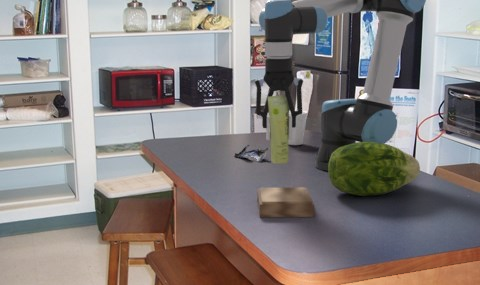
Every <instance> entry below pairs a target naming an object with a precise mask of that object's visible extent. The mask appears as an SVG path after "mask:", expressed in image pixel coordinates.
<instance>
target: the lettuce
mask: <svg viewBox="0 0 480 285" xmlns="http://www.w3.org/2000/svg"><path fill="white" fill-rule="evenodd" d="M420 167H421V166H420V162H419V161H418V160H417V158H415V157H414V156H413V155H411V154H410V153H409V154H408V153H407V152H404V151H402V150H401V149H399V148H398V147H395V146H393V145H390V144H386V143H385V144H383V143H375V142H358V141H356V143H353V144H349V145H346V146H343V147H340V148H338V149H337V150H335V151H334V152H333V153H332V155H331V157H330V160H329V164H328V171H327V172H328V173H327V174H328V178H329V179H330V182H331V184H332V186H333V187H335V188H336V189H337V190H338V191H340V192H343V193H346V194H351V195H354V196H361V197H364V196H365V197H366V196H367V197H368V196H369V197H370V196H379V195H385V194H388V193H391V192H393V191H396V190H398V189H400V188H402V187H403V186H405V185H407V184H410V183H412V182H413V181H414V180H415V179H416V178H417V177H419V175H420V172H421V168H420Z"/></svg>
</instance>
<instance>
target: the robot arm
mask: <svg viewBox="0 0 480 285" xmlns="http://www.w3.org/2000/svg"><path fill="white" fill-rule="evenodd" d="M426 1H427V0H296V1H293V2H292V0H267V1H266V2H265V5H264V6H265V7H264V8H263V9H262V10H261V11H260V13H259V16H258V22H259V25H260V28H261V29H262V30H264V55H265V57H266V58H265V59H264V62H265V63H264V66H265V67H264V69H265V72H264V76H263V77H262V78H258V79H257V78H255V79H254V84H255V87H256V94H255V98H256V100H255V114H256V116H260V117H261V120H262V122H261V124H262V128H263V129H266V136H265V137H266V141H271V138H270V120H269V108H268V97H270V96H274V93H275V92H279V91H280V92H284V94H285V95H286V98H287V102H288V105H289V110H290V112H291V115H289V140H292V128H295V127H296V116H297V115H299V114H302V110H303V96H302V92H303V91H302V87H303V85H304V84H303V83H304V80H303V79H302V78H301V77H299V78H298V77H295V76H294V74H293V58H292V56H293V36H294V35H304V34H305V35H306V34H307V35H310V34H312V35H314V34H318V33H322V32H323V31H325V29H326V28H327V25H328V19H329V18H332V17H335V16H339V15H342V14H345V13H350V14H356V13H362V12H375V15H376V16H377V18H378V19H379V20H378V25H377V29H376V30H377V31H376V34H375V39H374V43H373V46H372V52H371V56H370V60H369V61H370V62H369V65H368V70H367V74H366V78H365V82H364V87H363V92H362V94H361V95H359V96H357V98H342V99H341V98H340V99H330V100H326V101H324V102H322V104H321V105H322V106H321V113H320V114H321V115H320V117H321V118H320V119H321V121H320V124H321V125H320V130H321V131H320V146H319V149H318V151H317V154H316V157H315V162H314V163H315V164H314V166H315V167H316V168H317V169H319V170H323V171H326V172H328V164H329V160H330V157H331V155H332V153H333V152H334V151H335V150H337V149H338V148H340V147H343V146H346V145H349V144H353V143H357V142H375V143H383V144H386V143H388V141H391V139H392V138H393V136H394V134H395V133H396V130H397V128H398V119H397V114H396V113H395V112H394V111H393V110H394V104H393V103H392V101H391V96H392V91H393V86H394V83H395V79H396V74H397V69H398V65H399V62H400V55H401V52H402V47H403V43H404V38H405V34H406V30H407V26H408V25H409V24H410V23H411V22H413V21H414V17H415V13H419V12H421V11H422V9H423V8H424V6H425V5H426ZM264 83H266V85H267V86H268V92H267V95H266V98H265V102H264V106H263V110H261V108H262V87H263V86H264ZM292 83H294V85H295V87H296V88H295V90H296V93H295V94H296V95H295V96H296V109H295V106H294V104H293V100H292V96H291V93H290V89H289V88H290V86H291V85H292Z"/></svg>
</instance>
